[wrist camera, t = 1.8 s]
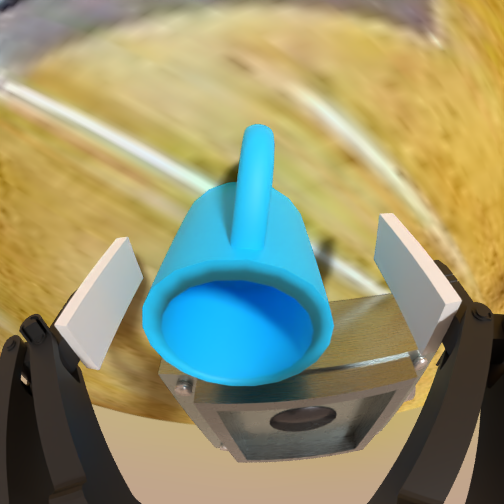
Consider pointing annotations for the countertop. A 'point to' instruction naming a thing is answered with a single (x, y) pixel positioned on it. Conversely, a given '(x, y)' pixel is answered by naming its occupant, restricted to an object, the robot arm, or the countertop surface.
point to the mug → (240, 282)
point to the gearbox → (314, 391)
